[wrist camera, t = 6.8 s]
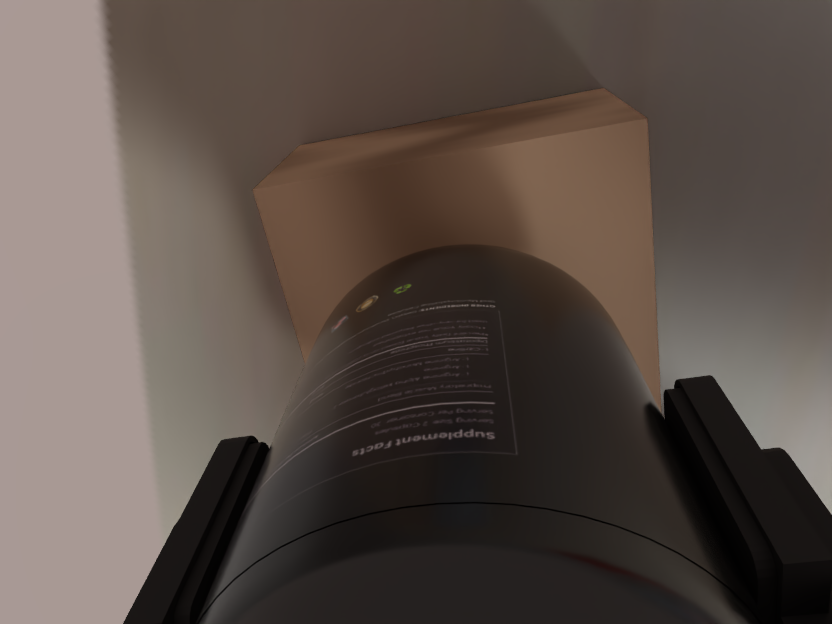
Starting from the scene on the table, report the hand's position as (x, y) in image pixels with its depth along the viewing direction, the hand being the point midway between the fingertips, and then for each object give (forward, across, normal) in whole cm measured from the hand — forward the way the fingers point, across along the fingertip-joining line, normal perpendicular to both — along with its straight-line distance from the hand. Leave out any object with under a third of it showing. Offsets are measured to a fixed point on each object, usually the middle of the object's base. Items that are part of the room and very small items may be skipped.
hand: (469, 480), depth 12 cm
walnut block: (+11, 0, 0) cm, 11 cm away
